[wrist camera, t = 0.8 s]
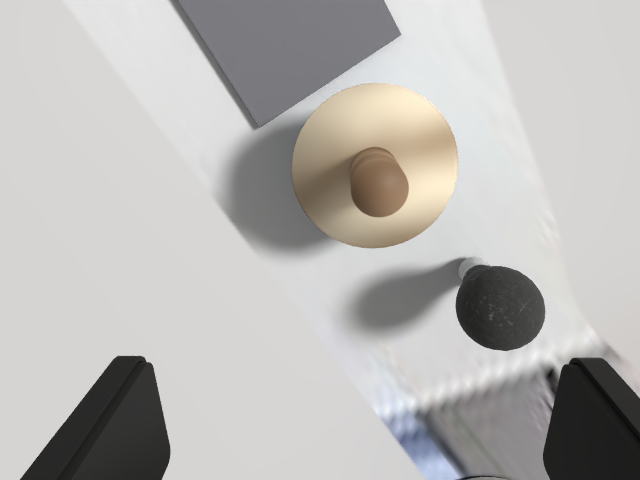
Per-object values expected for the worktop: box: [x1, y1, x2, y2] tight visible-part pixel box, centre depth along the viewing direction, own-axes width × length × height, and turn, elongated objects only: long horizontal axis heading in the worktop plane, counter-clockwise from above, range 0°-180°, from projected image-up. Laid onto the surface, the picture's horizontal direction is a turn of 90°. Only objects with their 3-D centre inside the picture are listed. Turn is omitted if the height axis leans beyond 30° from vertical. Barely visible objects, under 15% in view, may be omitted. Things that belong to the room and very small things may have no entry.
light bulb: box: [456, 257, 545, 351], centre depth 31 cm, size 6×6×10 cm
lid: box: [292, 83, 458, 248], centre depth 25 cm, size 10×10×6 cm
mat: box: [178, 0, 401, 128], centre depth 30 cm, size 12×12×1 cm
